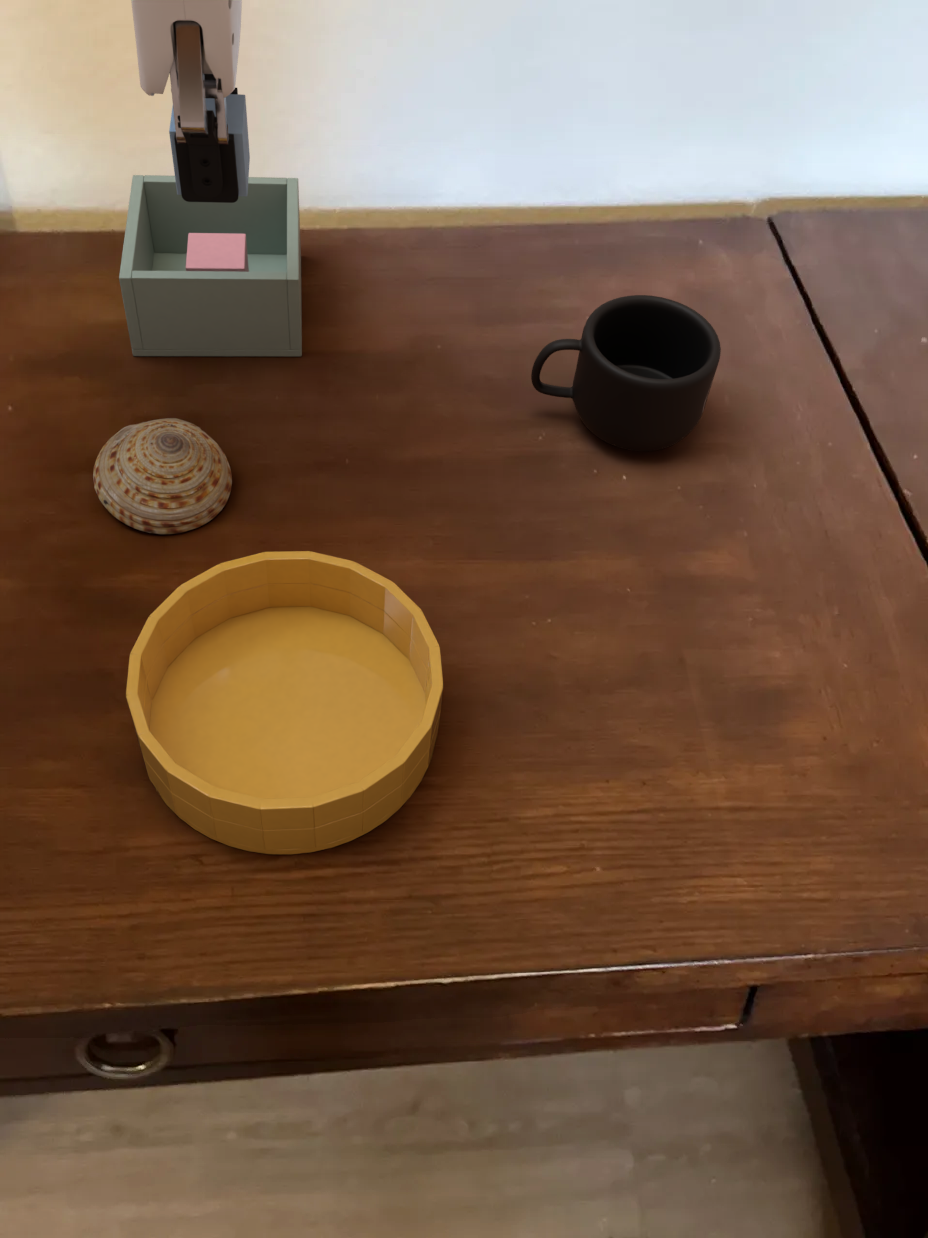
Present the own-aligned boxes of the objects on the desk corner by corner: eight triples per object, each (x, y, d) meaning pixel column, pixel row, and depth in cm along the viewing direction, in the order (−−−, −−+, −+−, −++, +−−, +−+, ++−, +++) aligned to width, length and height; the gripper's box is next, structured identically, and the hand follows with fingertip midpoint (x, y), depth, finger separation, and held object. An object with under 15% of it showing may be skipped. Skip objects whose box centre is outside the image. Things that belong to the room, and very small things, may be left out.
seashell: (172, 389, 79) (233, 417, 73) (198, 465, 82) (258, 498, 77) (58, 441, 75) (112, 475, 70) (90, 518, 79) (144, 557, 73)
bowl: (128, 862, 61) (113, 815, 57) (150, 608, 71) (139, 553, 67) (447, 848, 63) (454, 801, 59) (426, 602, 73) (431, 548, 69)
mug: (688, 376, 87) (711, 295, 81) (705, 467, 82) (732, 387, 76) (522, 369, 86) (534, 286, 81) (528, 460, 81) (541, 378, 75)
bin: (132, 356, 84) (118, 277, 79) (145, 253, 91) (132, 174, 86) (301, 356, 85) (298, 279, 80) (301, 254, 92) (298, 177, 87)
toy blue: (177, 194, 70) (169, 131, 67) (182, 155, 72) (174, 91, 69) (247, 196, 70) (242, 133, 67) (249, 157, 73) (245, 93, 69)
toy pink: (191, 314, 86) (185, 267, 83) (193, 279, 88) (188, 232, 85) (248, 315, 87) (244, 268, 83) (249, 279, 89) (245, 232, 86)
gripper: (113, -246, 61) (159, 96, 76) (73, -98, 51) (134, 263, 66) (263, -238, 62) (280, 99, 77) (252, -90, 52) (274, 265, 67)
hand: (212, 172), depth 71 cm, fingers closed on toy blue, 4 cm apart
